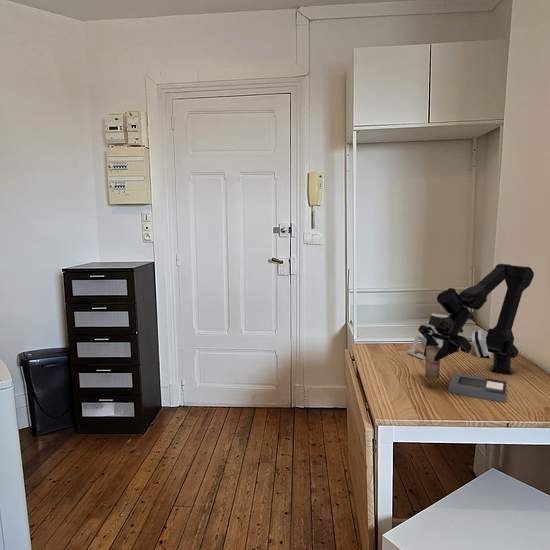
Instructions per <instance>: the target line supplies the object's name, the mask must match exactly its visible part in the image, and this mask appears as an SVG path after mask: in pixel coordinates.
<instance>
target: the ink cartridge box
mask: <svg viewBox="0 0 550 550" xmlns="http://www.w3.org/2000/svg"><path fill="white" fill-rule="evenodd" d="M431 315H432V316H435V317H439V318H445V317H448V316H449V315H446V314H439V313H434V312H433V313H431ZM428 322H429V320H428V321H427V322H426V326H429V327H431V328H432V329H433V330H434V331H435V332H438V331H437V330H435V329H434V328H435V327H434V326H432V325H428ZM440 337H441V336H440ZM436 342H437V343H438V344H439V345H438V346H437V347H440V348H441V347H442V345H443V340H440V339H437V341H436Z"/></svg>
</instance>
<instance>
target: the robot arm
mask: <svg viewBox="0 0 550 550" xmlns="http://www.w3.org/2000/svg"><path fill="white" fill-rule="evenodd" d="M534 276H535V273H534V271H533V269H532V267H530V266H522V265H511V264H509V263H508V264H507V263H506V264H505V263H498V264H496V265H495V267H494V269H492V270H491V271H490V272H489V273H488V274H487V275H485V276H484V278H482V279H481V280H480V281H479V282H478V283H477V284H475V285H473V286H470V287H467V288H465V289H464V290H461V292H460V293H457V290H456V289H455V288H453V287H448V289H446V290H444V291H442V292H441V293H438V294H437V297H436V302H437V303H438V304H439V306H440V307H442V309H443V310H444V311H445V313H447V314H448V315H447V316H448V317H445V318H443V317H435V316H432V314H431V315H430V317H429V320H428V321H429V322H428V321H427V322H428V325H432V326H434V327H435V328H434V329H435V330H437V331H438V332H435V331H434V330H433V329H432V328H431V327H429V326H427V324H421V325H420V326H419V327H418V329H417V331H418V333H420V334H422V335H423V336H424V338H425V339H427V341H426V346H425V350H423V352H424V354H423V353H422V355H424V356H425V357H426V347H427V346H438V345H439V344H438V343H437V342H436V341H437V339H440V340H443V345H442V347H441V348H440V350H439V352H438V353H437V355H436V356H435V358H434V360H435V361H438V360H440V361H441V360H442V359H444V358H445V357H448V356H450V355H452V354H454V353H459V352H460V351H461V352H463V353H465V354H469V353H470V352H471V351H472V347H473V346H472V344H471V342H470V341H469V340H468V339H467V338H466V337H465V336H462V335H459V333H461V334H463V332H464V329H463V327H464V326H465V325H466V324H467V322H468V321H469V320H471V321H475V316H474V312H473V311H470V309H473V310H476V311H477V310H480V309H481V308H482V307H483V306H484V305H485V303H486V302H487V299H488V295H489V294H491V292H493V291H494V290H495V289H496V288H497V287H499V285H501V283H503V282H504V281H505V285H506V291H505V295H504V298H503V301H502V306H501V309H500V313H499V316H498V320H497V321H496V322H497V323H496V325H495V326H494V327H493V328H489V329H488V331H487V333H486V345H487V349H488V352H491V353H492V354H493V360H492V365H491V368H490V371H491V372H494V373H500V374H507V375H508V374H509V375H512V372H513V371H512V369H513V368H512V359H515V358H517V357H518V356H519V352H520V351H519V349H518V347H516V346H515V344H514V342H515V341H514V340H515V337H514V333H513V331H512V330H513V325H514V324H515V318H516V315H517V312H518V309H519V306H520V302H521V299H522V295H523V292H524V291H525V290H526V289H528V288H529V287H530V286H531V283H532V281H533V280H534ZM440 336H441V337H440ZM459 349H460V350H459Z"/></svg>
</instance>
